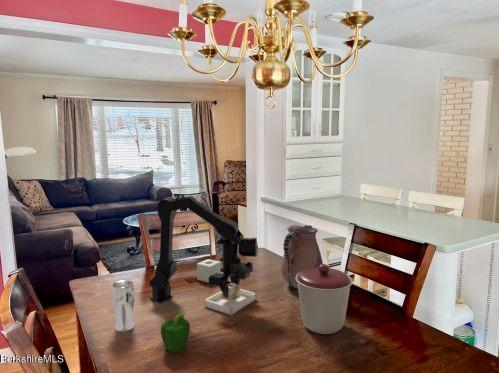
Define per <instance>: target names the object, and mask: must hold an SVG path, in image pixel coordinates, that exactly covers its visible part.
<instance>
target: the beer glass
mask: <svg viewBox="0 0 499 373" xmlns="http://www.w3.org/2000/svg"><path fill="white" fill-rule="evenodd" d="M111 302H112V306H113V307H112V308H113V310H114V311H113V312H114V315H115V325H114V326H115V327H114V329H115V331H116V332H119V333H120V332H121V333H124V332H125V333H126V332H130V331H132V330H133V329H134V328H135V321H134V314H133V313H134V308H135V307H134V306H135V288H134V282H133V281H132V280H130V279H124V280H118V281H115V282H113V283H112V285H111Z"/></svg>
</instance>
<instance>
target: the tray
mask: <svg viewBox="0 0 499 373" xmlns="http://www.w3.org/2000/svg"><path fill="white" fill-rule="evenodd" d="M256 300H257V293H256V292H253V291H249V290H246V289H243V288H240V297H239V298H238V299H236V300H234V301H233V302H230V301H227V300H224V299H221V290H220V291H219V292H216V293H215V294H213V295H211V296H209V297H207V298H206V299H204V307H205V308H208V309H212V310H215V311H217V312H221V313H224V314H227V315H230V316H233V315H234V314H236V313H237V312H239V311H240V310H242V309H244V308H245V307H246V306H248V305H250V304H251V303H252V302H254V301H256Z"/></svg>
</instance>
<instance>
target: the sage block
mask: <svg viewBox="0 0 499 373" xmlns="http://www.w3.org/2000/svg"><path fill="white" fill-rule="evenodd" d="M221 268H222V261H220V260H219V261H218V260H213V259H209V258H206V259H205V260H202V261H200V262H198V263H196V277H197V278H196V280H197V281H201V282H204V283H208V284H210V283H209V276H211V275H213V274H215V273H219V274H222V272H220V269H221Z"/></svg>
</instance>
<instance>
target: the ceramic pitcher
mask: <svg viewBox="0 0 499 373" xmlns="http://www.w3.org/2000/svg"><path fill="white" fill-rule="evenodd" d="M286 230H287V231H288V233H287V234H286V235H285V238H284V240H283V245H282V246H283V255H282V259H281V265H280V270H281V276H282V278H283V279H284V281H285V282H286V283H287V284H288V285H289V286H290V287H291V288H294V289H296V290H298V282H297V281H296V279H295V277H296V275H297V274H298V273H300V272H302V271H303V270H306V269H309V268H316V267H319V265H321V264H324V263H323V258H322V254H321V250H320V247H319V243H318V241H317V238H316V237H317V235H316V234H317V232H318V231H319V230H318V229H317V228H316V227H313V226H312V225H307V224H306V225H304V226H301V225H297V224H293V225H289V226H287V228H286Z"/></svg>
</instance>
